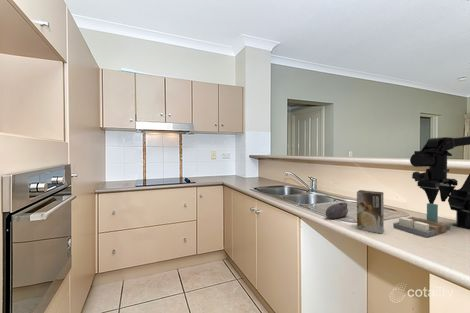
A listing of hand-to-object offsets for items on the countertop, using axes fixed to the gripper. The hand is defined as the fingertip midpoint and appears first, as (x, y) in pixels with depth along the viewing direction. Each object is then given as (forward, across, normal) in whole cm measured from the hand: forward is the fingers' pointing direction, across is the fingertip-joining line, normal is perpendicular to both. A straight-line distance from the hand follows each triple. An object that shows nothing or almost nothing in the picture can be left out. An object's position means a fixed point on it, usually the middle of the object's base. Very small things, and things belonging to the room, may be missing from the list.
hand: (437, 202), depth 94 cm
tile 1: (+8, +14, -4) cm, 16 cm away
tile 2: (+8, +14, +2) cm, 17 cm away
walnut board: (+11, +8, -1) cm, 13 cm away
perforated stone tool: (+11, +28, -28) cm, 41 cm away
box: (+11, +15, -1) cm, 18 cm away
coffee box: (+11, +29, -10) cm, 32 cm away
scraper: (+11, 0, -2) cm, 11 cm away
